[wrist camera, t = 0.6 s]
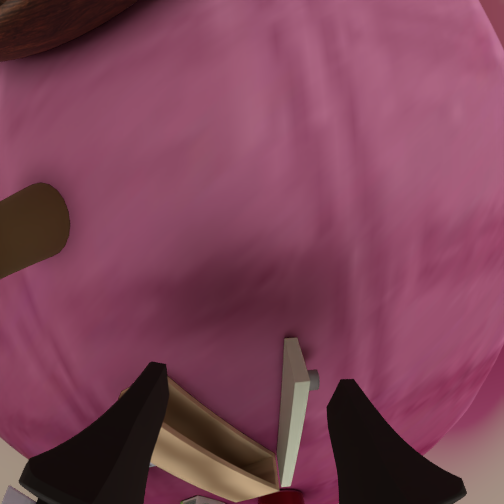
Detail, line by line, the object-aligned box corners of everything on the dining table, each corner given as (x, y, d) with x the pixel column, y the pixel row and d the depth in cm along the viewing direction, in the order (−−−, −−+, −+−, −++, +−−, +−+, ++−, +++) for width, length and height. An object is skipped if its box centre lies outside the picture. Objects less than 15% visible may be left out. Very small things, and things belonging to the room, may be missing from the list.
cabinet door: (276, 452, 27) (281, 487, 22) (284, 338, 21) (295, 382, 17) (295, 450, 27) (301, 484, 22) (311, 336, 22) (328, 378, 17)
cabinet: (235, 467, 28) (235, 502, 23) (121, 391, 23) (105, 432, 18) (274, 453, 28) (279, 490, 22) (160, 369, 22) (146, 416, 17)
